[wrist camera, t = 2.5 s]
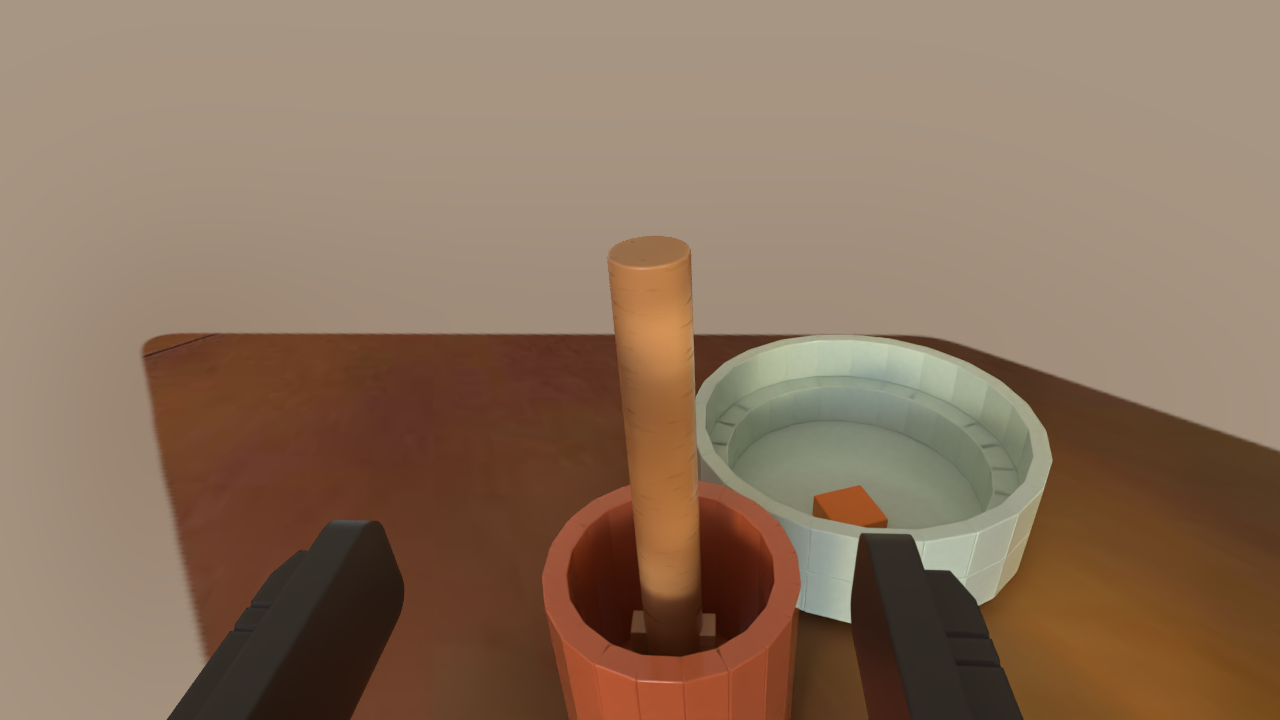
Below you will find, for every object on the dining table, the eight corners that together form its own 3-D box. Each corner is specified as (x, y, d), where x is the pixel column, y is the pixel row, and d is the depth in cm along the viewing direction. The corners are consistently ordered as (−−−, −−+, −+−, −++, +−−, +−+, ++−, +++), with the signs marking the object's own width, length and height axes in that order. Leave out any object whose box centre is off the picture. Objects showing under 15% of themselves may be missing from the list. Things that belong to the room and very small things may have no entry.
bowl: (962, 411, 44) (979, 332, 41) (1084, 643, 30) (1126, 547, 26) (698, 410, 47) (696, 335, 44) (688, 626, 32) (683, 536, 29)
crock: (779, 624, 31) (788, 479, 27) (798, 840, 24) (815, 690, 19) (592, 617, 33) (569, 476, 28) (552, 821, 25) (512, 674, 20)
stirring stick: (717, 677, 28) (710, 233, 18) (717, 728, 27) (709, 265, 16) (643, 674, 29) (595, 236, 19) (638, 723, 27) (581, 268, 17)
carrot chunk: (858, 502, 37) (860, 483, 36) (885, 538, 35) (889, 519, 34) (811, 514, 37) (813, 495, 36) (836, 551, 34) (838, 531, 33)
